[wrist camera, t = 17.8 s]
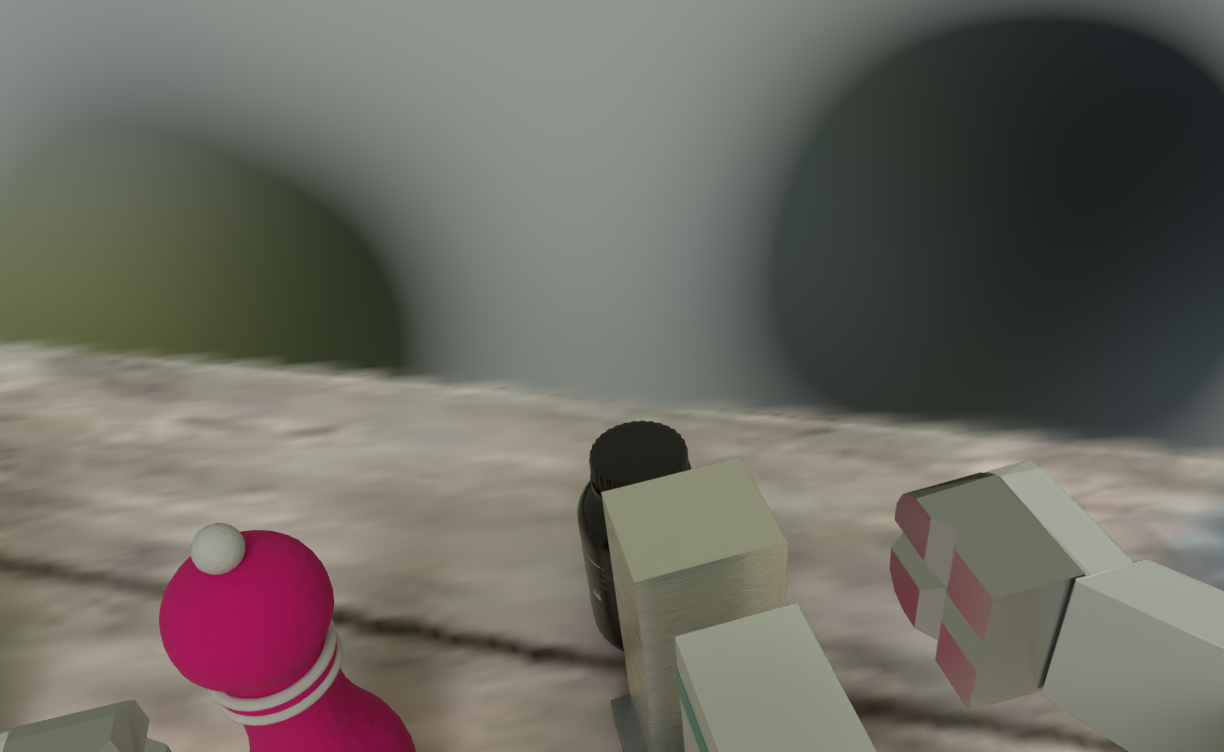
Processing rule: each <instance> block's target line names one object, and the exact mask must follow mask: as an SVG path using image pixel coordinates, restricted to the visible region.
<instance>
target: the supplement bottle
mask: <svg viewBox="0 0 1224 752" xmlns="http://www.w3.org/2000/svg"><path fill="white" fill-rule="evenodd" d="M589 463H590V470H591V476H590V478H591V480H590V481H589V482H588V484H587V485H586V487H585V488H584V490H583V492H582V494H581V497H580V500H579V503H578V523H579V530H580V536H581V542H582V548H583V554H584V560H585V566H586V572H587V578H588V584H589V590H590V596H591V602H592V607H593V612H594V617H595V620H596V623H597V626H598V628H599V630H600V631H601V633H602V634H603V636H604V637H605V638H606V639H607V640H608V641H609V642H610V643H611V644H612V645H614V646H615V647H617V648H618V649H620V650H622V651H624V648H623V641H622V634H621V627H620V620H619V613H618V606H617V599H616V592H615V585H614V578H613V571H612V564H611V557H610V550H609V543H608V536H607V529H606V522H605V515H604V508H603V501H602V494H601V492H604V491H608V490H612V489H616V488H620V487H624V486H628V485H632V484H636V483H640V482H644V481H648V480H652V479H656V478H660V477H664V476H668V475H672V474H676V473H680V472H683V471H687V470H691V467H690V463H689V460H688V449H687V446H686V444H685V440H684V439H682V438H681V435H680V434H678V433H676V431H675V430H674V429H671V428H670V427H669V426H666V425H662V424H661V423H655V422H652V421H649V422H646V421H639V422H637V421H633V422H630V423H623V424H621V425H617V426H615V427H614V428H611V429H608V430H607V431H606V432H605V433H603V434H601V436H600V437H599V438H598V439H596V442H595V443H594V444H593V445H592V450H591V451H590V459H589Z"/></svg>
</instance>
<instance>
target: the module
mask: <svg viewBox="0 0 1224 752" xmlns="http://www.w3.org/2000/svg"><path fill="white" fill-rule="evenodd" d="M675 645H676V657H677V668H676V676H677V687H678V693H679V696H680V702H681V713H682V725H683V736H684V747H685V752H877V751H876V750H875V748H874V746H873V744H872V742H871V740H870V738H869V736H868V735H867V733H866V731H865V729H864V727H863V725H862V723H861V721H860V720H859V718H858V716H857V714H856V712H855V710H854V708H853V706H852V705H851V703H850V701H849V699H848V697H847V695H846V693H845V691H844V690H843V688H842V686H841V684H840V682H839V680H838V678H837V676H836V675H835V673H834V671H833V669H832V667H831V665H830V663H829V662H828V660H827V658H826V656H825V654H824V652H823V650H822V648H821V647H820V645H819V643H818V641H817V639H816V637H815V635H814V633H813V632H812V630H811V628H810V626H809V624H808V622H807V620H806V618H805V617H804V615H803V613H802V611H801V609H800V607H799V605H798V603H796V604H792V605H788V606H785V607H781V608H777V609H774V610H770V611H767V612H763V613H759V614H756V615H752V616H748V617H745V618H741V619H737V620H734V621H730V622H727V623H723V624H719V625H716V626H712V627H708V628H705V629H701V630H697V631H694V632H690V633H687V634H683V635H679V636H676V637H675Z"/></svg>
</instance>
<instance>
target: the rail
mask: <svg viewBox="0 0 1224 752" xmlns="http://www.w3.org/2000/svg"><path fill="white" fill-rule="evenodd" d="M601 494H602V501H603V508H604V515H605V522H606V529H607V536H608V543H609V550H610V557H611V564H612V571H613V578H614V585H615V592H616V599H617V606H618V613H619V620H620V627H621V634H622V641H623V648H624V655H625V662H626V669H627V676H628V683H629V690H630V695H628V696H624V697H621V698H617V699H614V700H611V705H612V711H613V717H614V721H615V724H616V727H617V731H618V734H619V737H620V741H621V744H622V748H623V751H624V752H685V747H684V736H683V725H682V713H681V702H680V696H679V693H678V687H677V676H676V668H677V657H676V645H675V637H676V636H679V635H683V634H687V633H690V632H694V631H697V630H701V629H705V628H708V627H712V626H716V625H719V624H723V623H727V622H730V621H734V620H737V619H741V618H745V617H748V616H752V615H756V614H759V613H763V612H767V611H770V610H774V609H777V608H781V607H785V606H786V587H787V547H788V541H787V539H786V537H785V536H784V534H783V532H782V530H781V529H780V527H779V525H778V523H777V522H776V520H775V518H774V516H773V515H772V513H771V511H770V509H769V508H768V506H767V504H766V502H765V501H764V499H763V497H762V495H761V494H760V492H759V490H758V488H757V487H756V485H755V483H754V481H753V479H752V478H751V476H750V474H749V472H748V471H747V469H746V467H745V465H744V464H743V462H742V460H741V458H740V457H739V458H735V459H731V460H727V461H723V462H719V463H715V464H711V465H707V466H703V467H699V468H695V469H691V470H687V471H683V472H680V473H676V474H672V475H668V476H664V477H660V478H656V479H652V480H648V481H644V482H640V483H636V484H632V485H628V486H624V487H620V488H616V489H612V490H608V491H604V492H601Z"/></svg>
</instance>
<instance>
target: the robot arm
mask: <svg viewBox="0 0 1224 752" xmlns="http://www.w3.org/2000/svg"><path fill="white" fill-rule="evenodd" d="M895 521H896V522H897V524H898V525H899V527H900V528H901V529H902V531H903V534H902V535H901V536H900V537H899V539H898V540H897V541H896V542H895V543H894V545H893V546H892V547H891V557H890V572H891V576H892V581H893V585H894V590H895V593H896V595H897V597H898V600H899V602H900V604H901V606H902V609H903V610H904V612H905V614H906V615H907V617H908V618H909V620H910V622H911V623H912V625H913V626H914V628H916V629H918V630H920V631H922V632H923V633H925V634H927V635H929V636H931V637H933V638H935V639H937V640H938V643H937V651H936V662H937V663H938V665H939V666H940V668H941V669H942V671H943V672H944V674H945V675H946V677H947V678H948V680H949V681H950V683H951V684H952V686H953V687H954V689H955V690H956V692H957V694H958V695H959V697H960V698H961V700H962V701H963V703H964V704H965V706H966V707H967V709H968V710H972V709H975V708H979V707H983V706H986V705H990V704H994V703H997V702H1001V701H1005V700H1008V699H1012V698H1016V697H1019V696H1023V695H1027V694H1030V693H1034V692H1038V691H1041V690H1042V693H1041V695H1042V696H1044V697H1045V698H1047V699H1048V700H1050V701H1051V702H1053V703H1055V704H1056V705H1058V706H1059V707H1061V708H1062V709H1064V710H1065V711H1067V712H1068V713H1070V714H1072V715H1073V716H1075V717H1076V718H1078V719H1079V720H1081V721H1082V722H1084V723H1085V724H1087V725H1088V726H1090V727H1092V728H1093V729H1095V730H1096V731H1098V732H1099V733H1101V734H1102V735H1104V736H1105V737H1107V738H1108V739H1110V740H1112V741H1113V742H1115V743H1116V744H1118V745H1119V746H1121V747H1122V748H1124V749H1125V750H1127V751H1129V752H1224V591H1222V590H1220V589H1217V588H1215V587H1212V586H1210V585H1208V584H1205V583H1203V582H1200V581H1198V580H1196V579H1193V578H1191V577H1188V576H1186V575H1184V574H1181V573H1179V572H1176V571H1174V570H1172V569H1169V568H1167V567H1164V566H1162V565H1160V564H1157V563H1155V562H1152V561H1150V560H1148V559H1145V560H1141V561H1136V562H1133V561H1132V560H1131V559H1130V558H1129V557H1128V556H1127V555H1126V553H1125V552H1124V551H1123V550H1122V549H1121V548H1120V547H1119V546H1118V545H1117V544H1116V543H1115V542H1114V541H1113V540H1112V539H1111V538H1110V537H1109V536H1108V535H1107V534H1106V533H1105V532H1104V531H1103V530H1102V529H1101V528H1100V527H1099V526H1098V525H1097V524H1096V523H1095V522H1094V521H1093V520H1092V519H1091V517H1090V516H1089V515H1088V514H1087V513H1086V512H1085V511H1084V510H1083V509H1082V508H1081V507H1080V506H1079V505H1078V504H1077V503H1076V502H1075V501H1074V500H1073V499H1072V498H1071V497H1070V496H1069V495H1068V494H1067V493H1066V492H1065V491H1064V490H1063V489H1062V488H1061V487H1060V486H1059V485H1058V484H1057V483H1056V481H1055V480H1054V479H1053V478H1052V477H1051V476H1050V475H1049V474H1048V473H1047V472H1046V471H1045V470H1044V469H1043V468H1042V467H1041V466H1040V465H1038V464H1036V463H1033V462H1031V461H1029V460H1028V461H1024V462H1021V463H1017V464H1013V465H1009V466H1006V467H1002V468H998V469H994V470H990V471H987V472H985V473H977V474H973V475H970V476H966V477H962V478H959V479H955V480H952V481H948V482H944V483H941V484H937V485H934V486H930V487H926V488H923V489H919V490H916V491H912V492H908V493H905V494H903V495H902V496H901V498H900V499H899V501H898V502H897V505H896V513H895ZM148 724H149V718H148V717H147V716H146V714H145V713H144V712H143V710H142V709H141V708H140V706H139V705H138V704H137V703H136V701H135V700H131V701H124V702H120V703H115V704H111V705H107V706H103V707H99V708H94V709H90V710H86V711H82V712H78V713H74V714H69V715H65V716H61V717H57V718H53V719H48V720H44V721H40V722H36V723H32V724H27V725H23V726H19V727H17V728H13V729H9V730H5V731H1V732H0V752H171V750H170V749H169V747H168V746H167V745H166V744H163V743H160V742H157V741H154V740H152V739H149V738H146V736H147V730H148Z"/></svg>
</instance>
